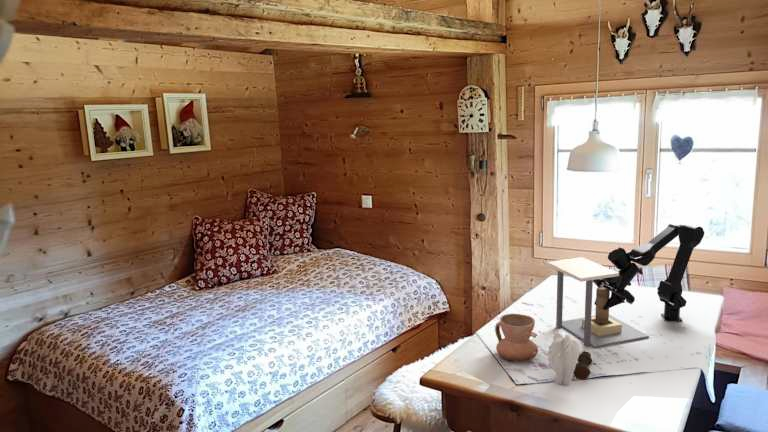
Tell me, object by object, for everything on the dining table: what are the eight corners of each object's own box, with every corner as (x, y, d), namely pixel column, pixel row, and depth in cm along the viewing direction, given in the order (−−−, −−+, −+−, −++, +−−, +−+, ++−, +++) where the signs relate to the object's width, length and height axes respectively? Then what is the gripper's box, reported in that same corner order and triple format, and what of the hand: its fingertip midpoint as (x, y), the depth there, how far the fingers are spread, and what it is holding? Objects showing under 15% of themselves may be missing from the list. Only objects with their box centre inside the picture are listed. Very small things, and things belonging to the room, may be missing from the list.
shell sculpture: (553, 373, 194) (555, 323, 190) (578, 380, 189) (580, 328, 185) (545, 384, 187) (546, 332, 183) (571, 391, 182) (572, 338, 179)
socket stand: (607, 315, 240) (610, 252, 235) (648, 337, 218) (653, 268, 212) (543, 326, 232) (545, 261, 226) (580, 350, 210) (582, 279, 204)
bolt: (588, 365, 203) (583, 383, 189) (575, 356, 204) (569, 374, 191) (597, 353, 201) (592, 370, 187) (584, 344, 202) (579, 361, 189)
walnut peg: (598, 320, 229) (599, 286, 226) (610, 323, 226) (611, 289, 222) (593, 324, 225) (594, 290, 222) (605, 327, 222) (607, 292, 219)
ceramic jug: (549, 358, 205) (549, 320, 202) (522, 370, 196) (522, 331, 194) (510, 343, 219) (509, 307, 216) (483, 354, 210) (482, 317, 208)
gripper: (597, 257, 230) (572, 287, 229) (629, 270, 213) (603, 303, 212) (613, 273, 234) (589, 303, 233) (646, 288, 216) (620, 320, 216)
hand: (599, 306), depth 223 cm, fingers closed on walnut peg, 5 cm apart
